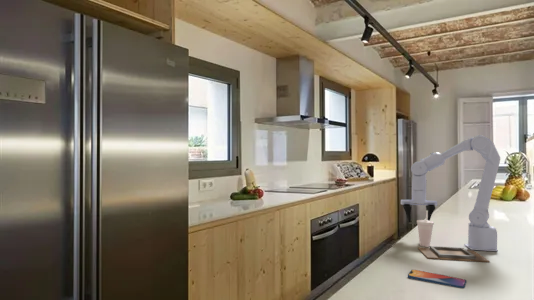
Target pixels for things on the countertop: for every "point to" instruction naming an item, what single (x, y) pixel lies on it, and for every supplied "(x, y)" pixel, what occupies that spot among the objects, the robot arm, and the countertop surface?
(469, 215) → the robot arm
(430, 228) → the smoothie
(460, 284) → the smartphone
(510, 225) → the countertop surface
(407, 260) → the countertop surface
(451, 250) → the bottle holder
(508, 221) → the countertop surface
